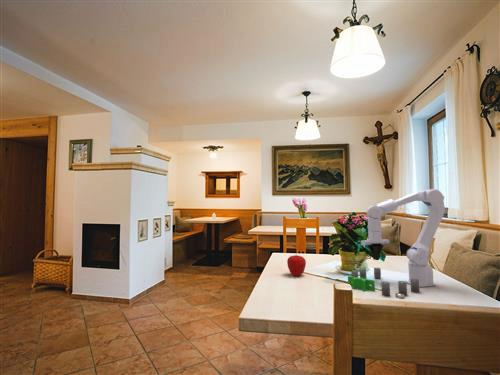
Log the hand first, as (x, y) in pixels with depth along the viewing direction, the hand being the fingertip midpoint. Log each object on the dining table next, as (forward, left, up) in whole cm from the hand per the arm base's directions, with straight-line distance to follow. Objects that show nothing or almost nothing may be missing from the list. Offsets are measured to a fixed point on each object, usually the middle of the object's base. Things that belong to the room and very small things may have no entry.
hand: (375, 259), depth 126 cm
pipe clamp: (+14, +6, -11) cm, 19 cm away
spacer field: (+2, +7, -10) cm, 13 cm away
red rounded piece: (+31, -22, -11) cm, 39 cm away
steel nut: (+6, +19, -11) cm, 23 cm away
